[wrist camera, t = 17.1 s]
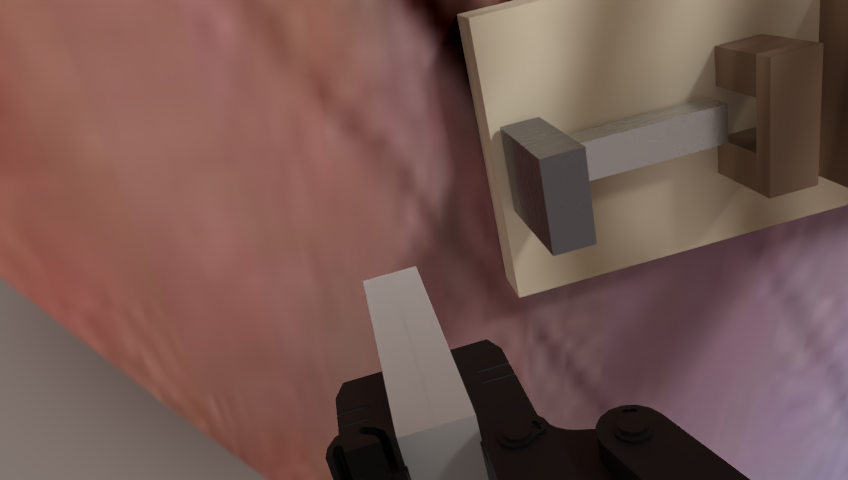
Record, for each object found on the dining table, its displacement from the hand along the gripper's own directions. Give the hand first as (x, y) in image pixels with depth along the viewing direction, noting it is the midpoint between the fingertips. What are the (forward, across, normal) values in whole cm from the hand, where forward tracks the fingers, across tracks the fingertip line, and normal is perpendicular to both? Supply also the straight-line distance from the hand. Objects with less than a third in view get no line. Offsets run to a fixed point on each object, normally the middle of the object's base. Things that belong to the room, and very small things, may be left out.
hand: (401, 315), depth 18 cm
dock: (+11, +17, 0) cm, 20 cm away
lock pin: (+8, +10, 0) cm, 13 cm away
